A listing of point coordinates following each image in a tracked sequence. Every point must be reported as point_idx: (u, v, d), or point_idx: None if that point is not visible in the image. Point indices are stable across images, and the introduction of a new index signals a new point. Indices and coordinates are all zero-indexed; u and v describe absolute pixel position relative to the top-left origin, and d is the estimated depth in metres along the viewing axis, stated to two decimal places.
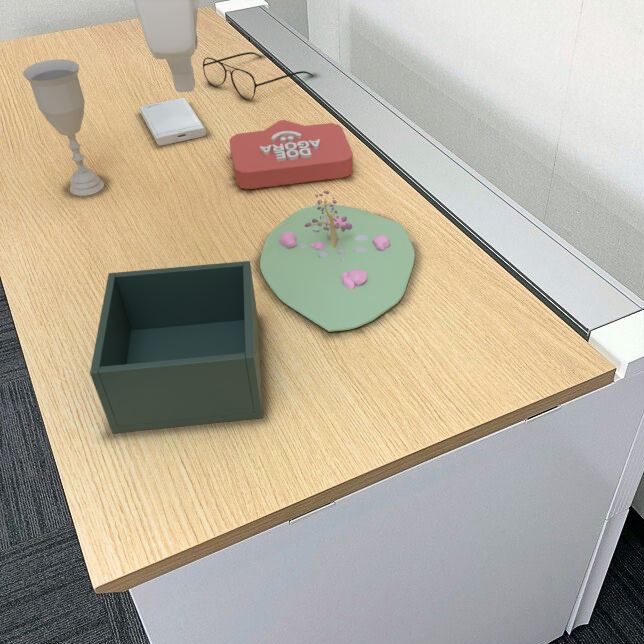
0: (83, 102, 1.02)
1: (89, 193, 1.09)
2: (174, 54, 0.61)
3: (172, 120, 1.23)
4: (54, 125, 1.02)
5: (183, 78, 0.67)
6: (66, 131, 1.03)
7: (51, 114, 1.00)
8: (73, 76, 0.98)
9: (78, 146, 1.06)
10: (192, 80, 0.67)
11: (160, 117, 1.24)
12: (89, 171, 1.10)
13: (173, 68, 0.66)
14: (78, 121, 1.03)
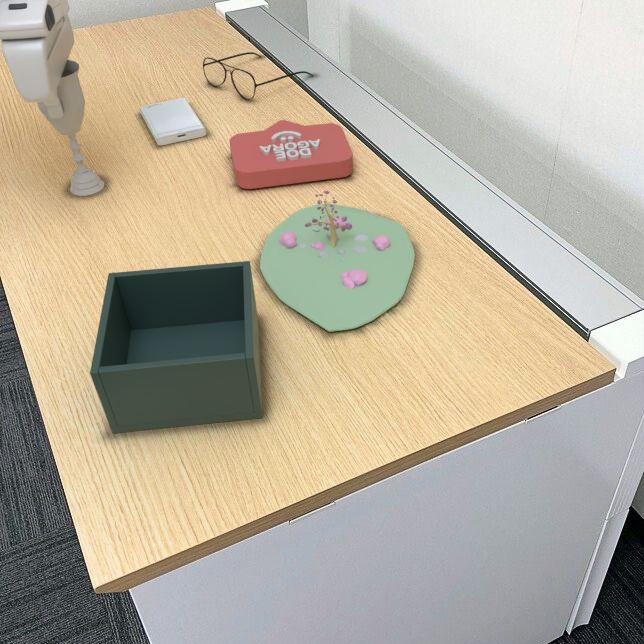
0: (83, 102, 1.02)
1: (89, 193, 1.09)
2: (38, 99, 0.91)
3: (172, 120, 1.23)
4: (54, 125, 1.02)
5: (54, 109, 0.98)
6: (66, 131, 1.03)
7: None
8: (73, 76, 0.98)
9: (78, 146, 1.06)
10: (60, 110, 0.98)
11: (160, 117, 1.24)
12: (89, 171, 1.10)
13: (46, 102, 0.97)
14: (78, 121, 1.03)
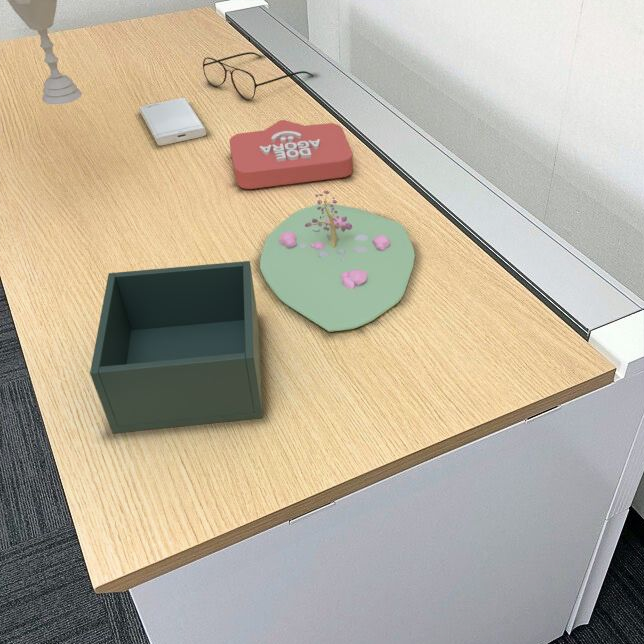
0: None
1: (64, 101, 0.96)
2: None
3: (172, 120, 1.23)
4: (22, 16, 0.89)
5: None
6: (36, 24, 0.90)
7: None
8: None
9: (51, 45, 0.93)
10: None
11: (160, 117, 1.24)
12: (64, 77, 0.97)
13: None
14: (50, 12, 0.90)
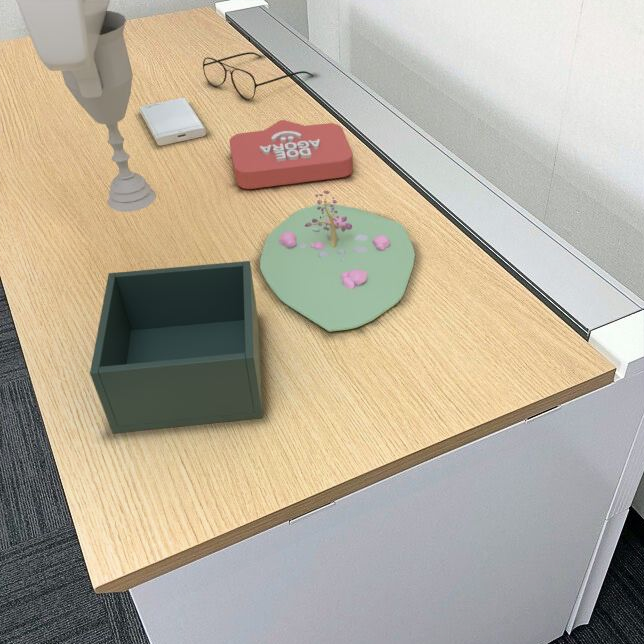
0: (131, 74, 0.69)
1: (136, 208, 0.76)
2: (68, 65, 0.58)
3: (172, 120, 1.23)
4: (88, 109, 0.69)
5: (89, 83, 0.65)
6: (105, 118, 0.70)
7: None
8: (118, 33, 0.65)
9: (121, 140, 0.73)
10: (99, 85, 0.65)
11: (160, 117, 1.24)
12: (136, 176, 0.77)
13: (77, 73, 0.64)
14: (123, 103, 0.70)
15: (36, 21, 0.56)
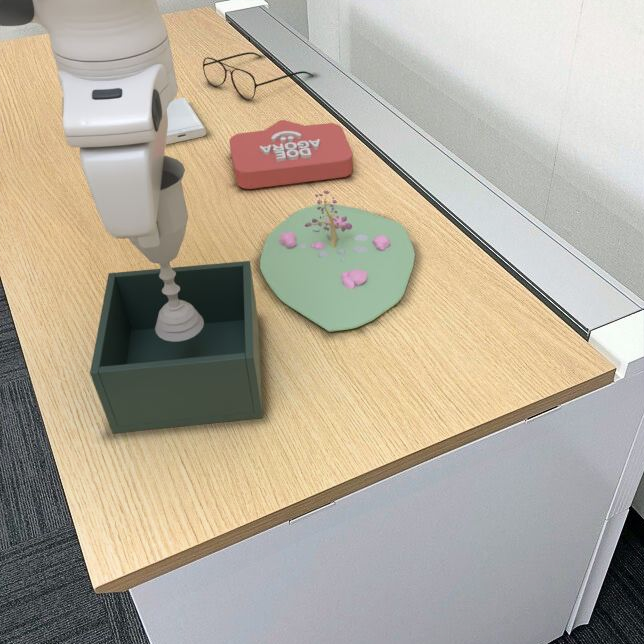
0: (187, 218, 0.68)
1: (185, 338, 0.76)
2: (133, 235, 0.58)
3: (172, 120, 1.23)
4: (143, 251, 0.69)
5: (147, 235, 0.65)
6: (160, 259, 0.70)
7: None
8: (177, 185, 0.65)
9: (173, 275, 0.73)
10: (157, 237, 0.65)
11: None
12: (184, 305, 0.76)
13: None
14: (178, 244, 0.69)
15: (105, 198, 0.55)
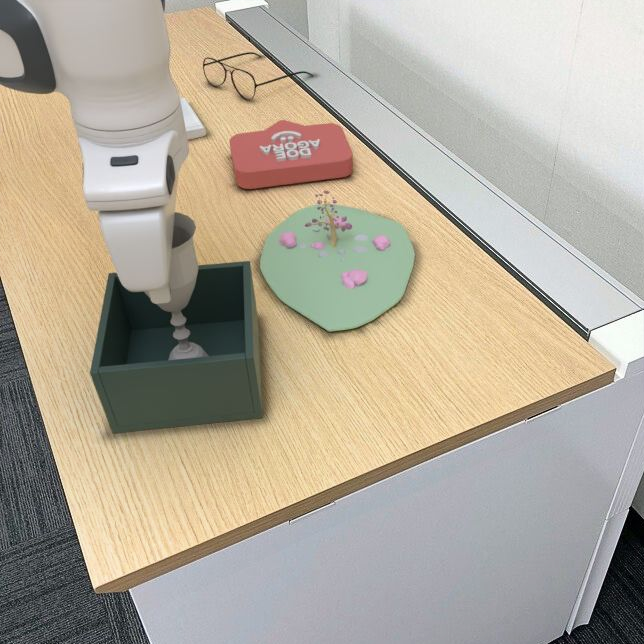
0: (197, 270, 0.73)
1: None
2: (148, 289, 0.61)
3: None
4: None
5: (159, 292, 0.67)
6: (171, 308, 0.74)
7: None
8: (189, 242, 0.69)
9: (184, 321, 0.77)
10: (168, 294, 0.68)
11: None
12: (194, 348, 0.80)
13: None
14: (189, 294, 0.73)
15: (122, 256, 0.59)
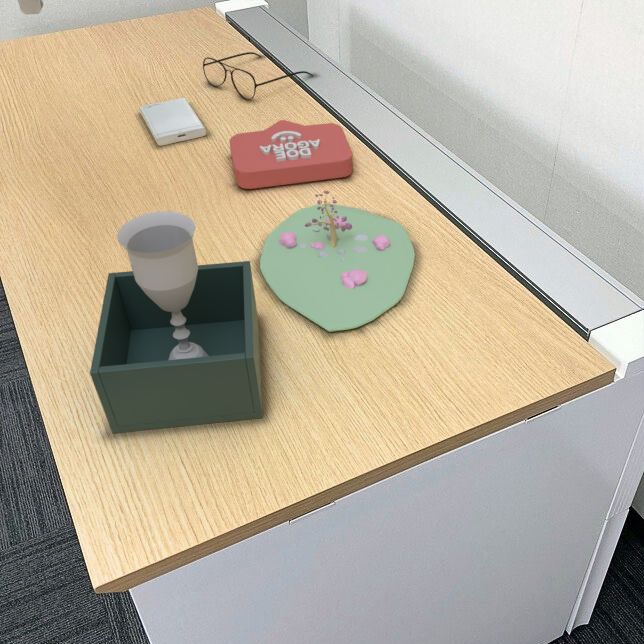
0: (197, 270, 0.73)
1: None
2: None
3: (172, 120, 1.23)
4: (156, 301, 0.73)
5: None
6: (171, 308, 0.74)
7: (154, 291, 0.71)
8: (189, 241, 0.69)
9: (184, 321, 0.77)
10: (37, 2, 0.67)
11: (160, 117, 1.24)
12: (194, 348, 0.80)
13: None
14: (189, 294, 0.73)
15: None
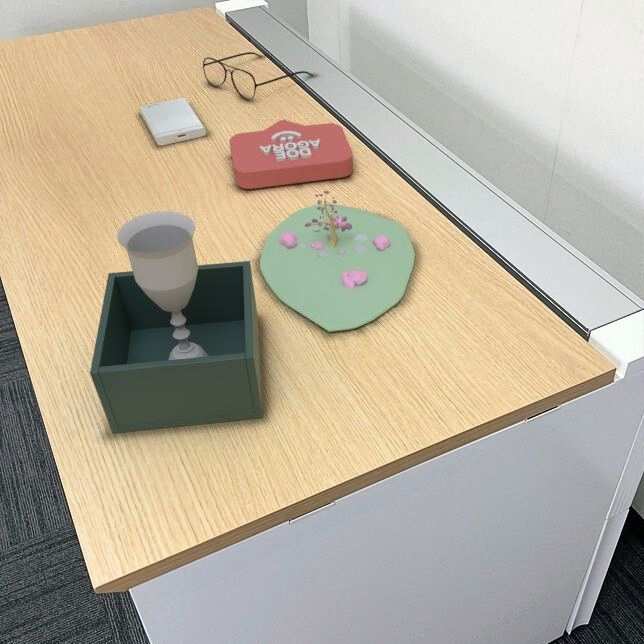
0: (197, 270, 0.73)
1: None
2: None
3: (172, 120, 1.23)
4: (156, 301, 0.73)
5: None
6: (171, 308, 0.74)
7: (154, 291, 0.71)
8: (189, 241, 0.69)
9: (184, 321, 0.77)
10: None
11: (160, 117, 1.24)
12: (194, 348, 0.80)
13: None
14: (189, 294, 0.73)
15: None
